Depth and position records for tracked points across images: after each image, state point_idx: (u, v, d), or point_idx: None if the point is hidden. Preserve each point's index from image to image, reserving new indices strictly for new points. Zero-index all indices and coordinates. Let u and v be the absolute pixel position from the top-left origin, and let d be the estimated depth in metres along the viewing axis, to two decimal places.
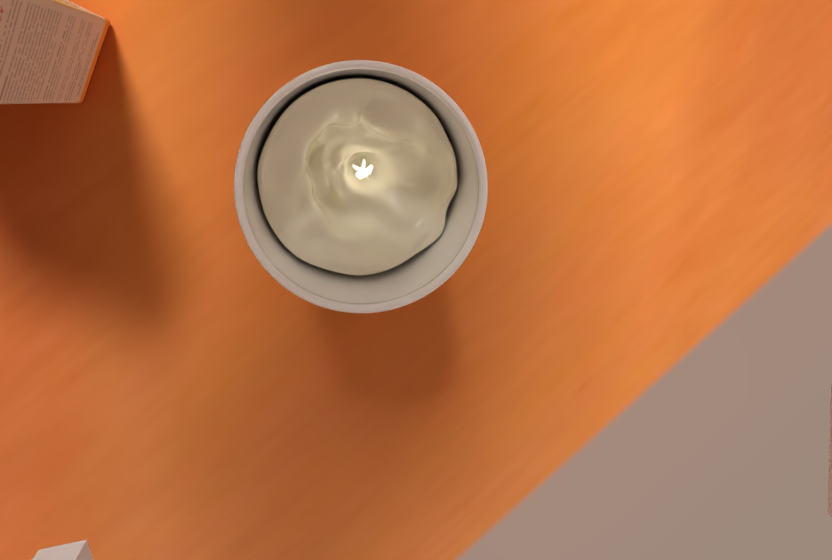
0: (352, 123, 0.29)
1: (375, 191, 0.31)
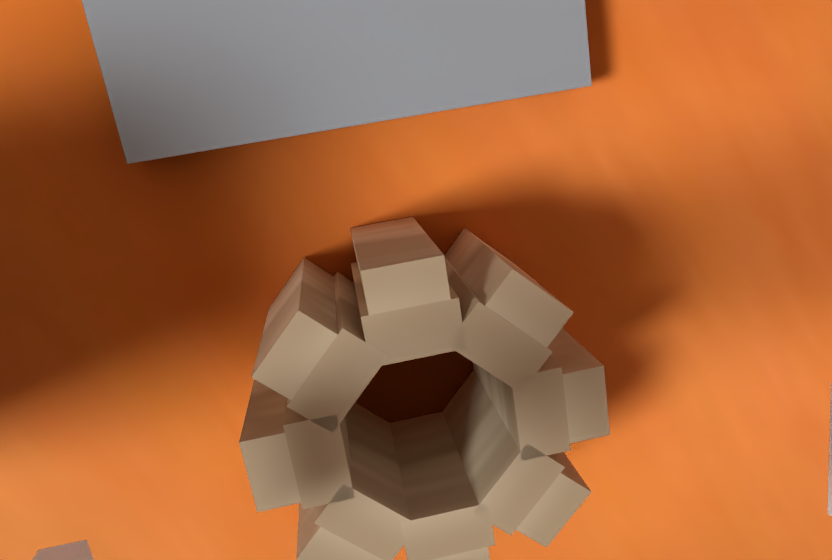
0: None
1: None
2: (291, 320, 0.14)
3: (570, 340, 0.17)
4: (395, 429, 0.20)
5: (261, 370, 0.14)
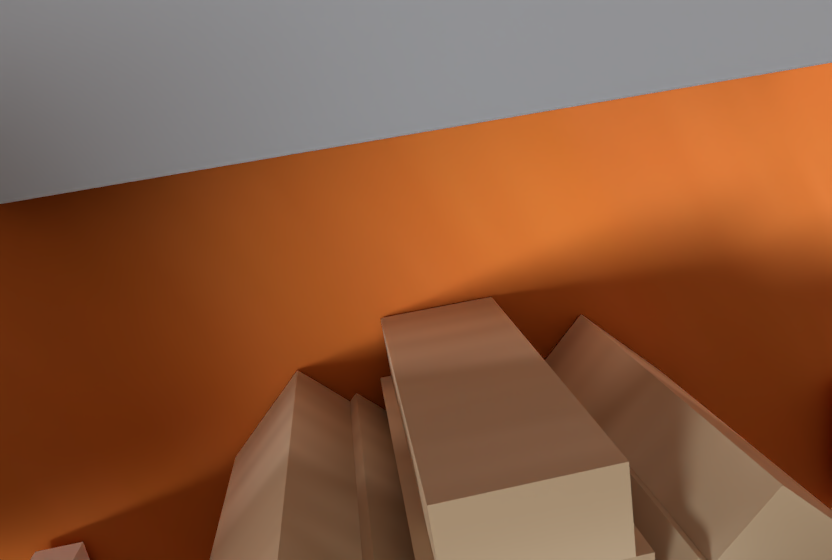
0: None
1: None
2: None
3: None
4: None
5: None
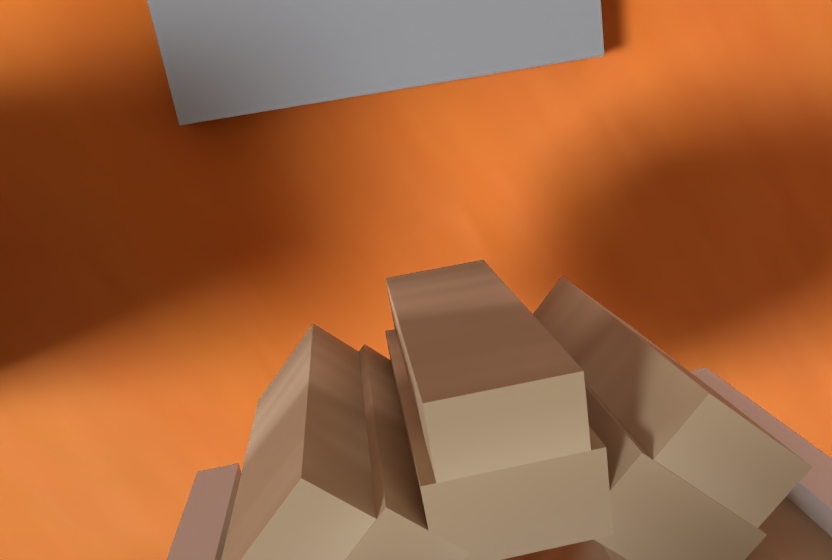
0: None
1: None
2: (287, 496, 0.07)
3: None
4: None
5: None
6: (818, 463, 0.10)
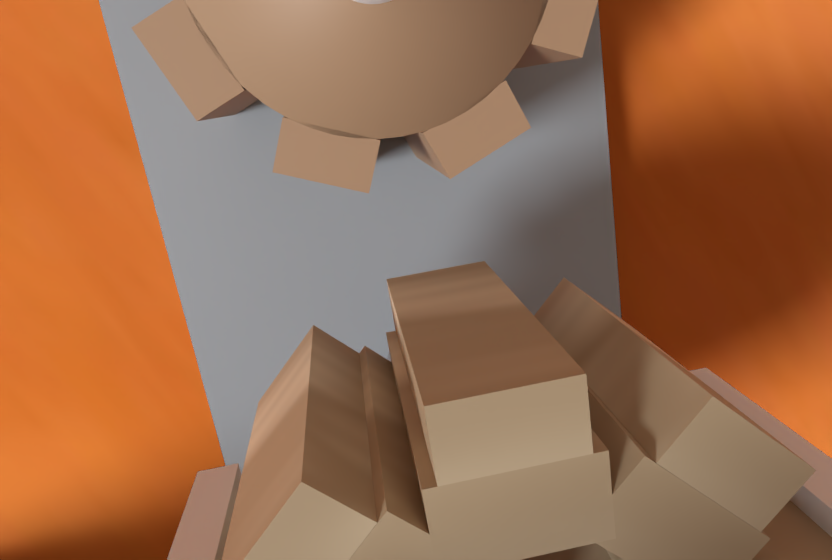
0: None
1: None
2: (287, 500, 0.07)
3: None
4: None
5: None
6: (819, 463, 0.10)
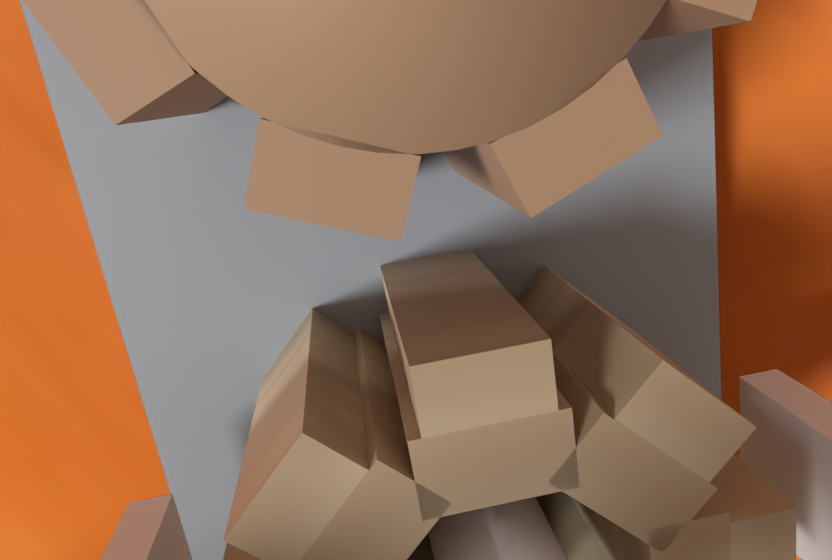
0: None
1: None
2: (290, 449, 0.08)
3: None
4: None
5: (240, 530, 0.08)
6: None
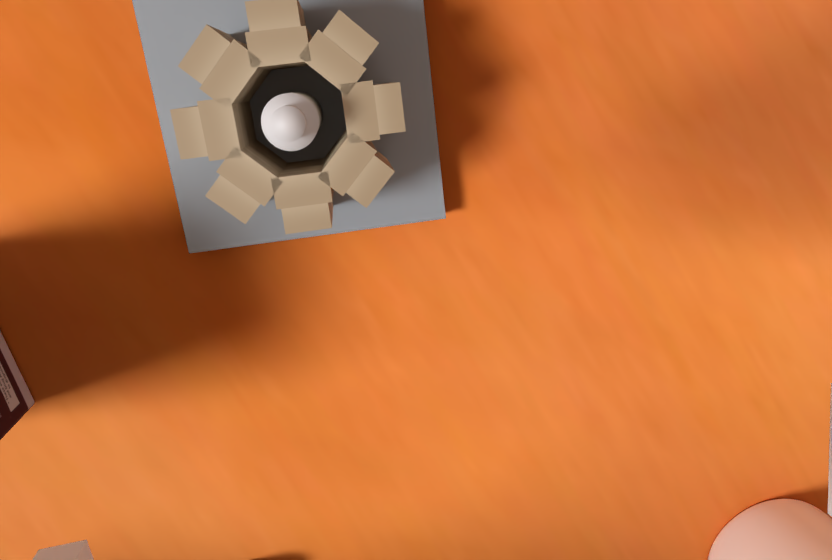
0: None
1: None
2: (202, 30, 0.23)
3: None
4: (289, 163, 0.29)
5: (183, 62, 0.23)
6: None
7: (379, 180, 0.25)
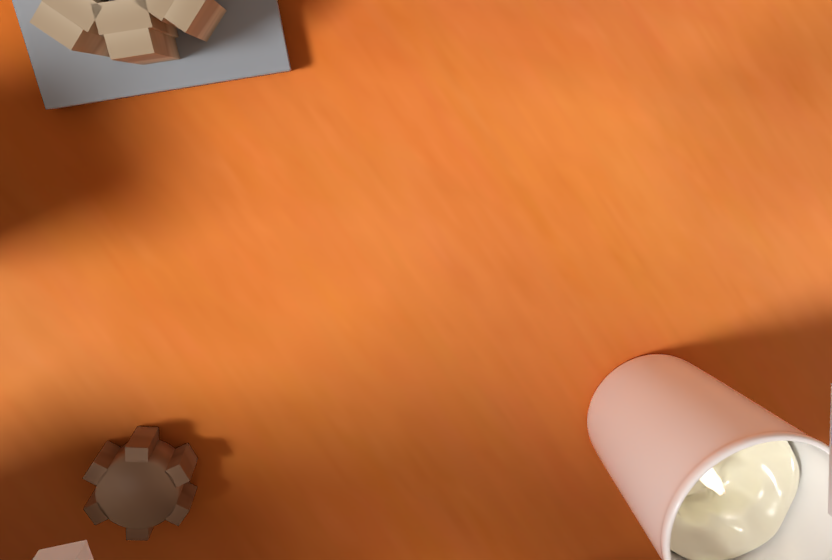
0: None
1: None
2: None
3: None
4: None
5: None
6: None
7: (194, 4, 0.27)
